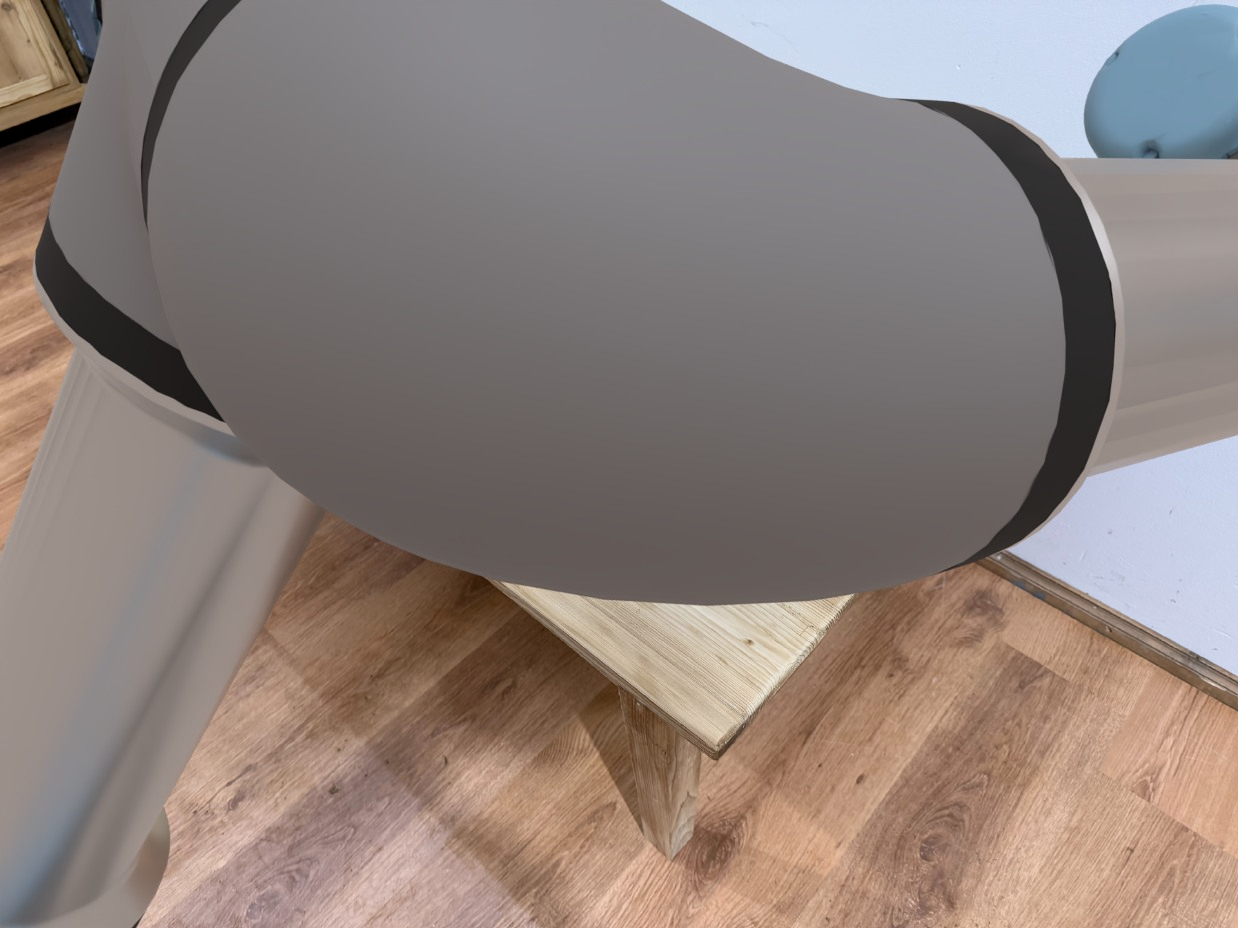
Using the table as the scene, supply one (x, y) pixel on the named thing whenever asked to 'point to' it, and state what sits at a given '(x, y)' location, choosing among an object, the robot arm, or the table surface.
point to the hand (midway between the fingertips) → (793, 407)
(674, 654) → the table surface
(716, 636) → the table surface
